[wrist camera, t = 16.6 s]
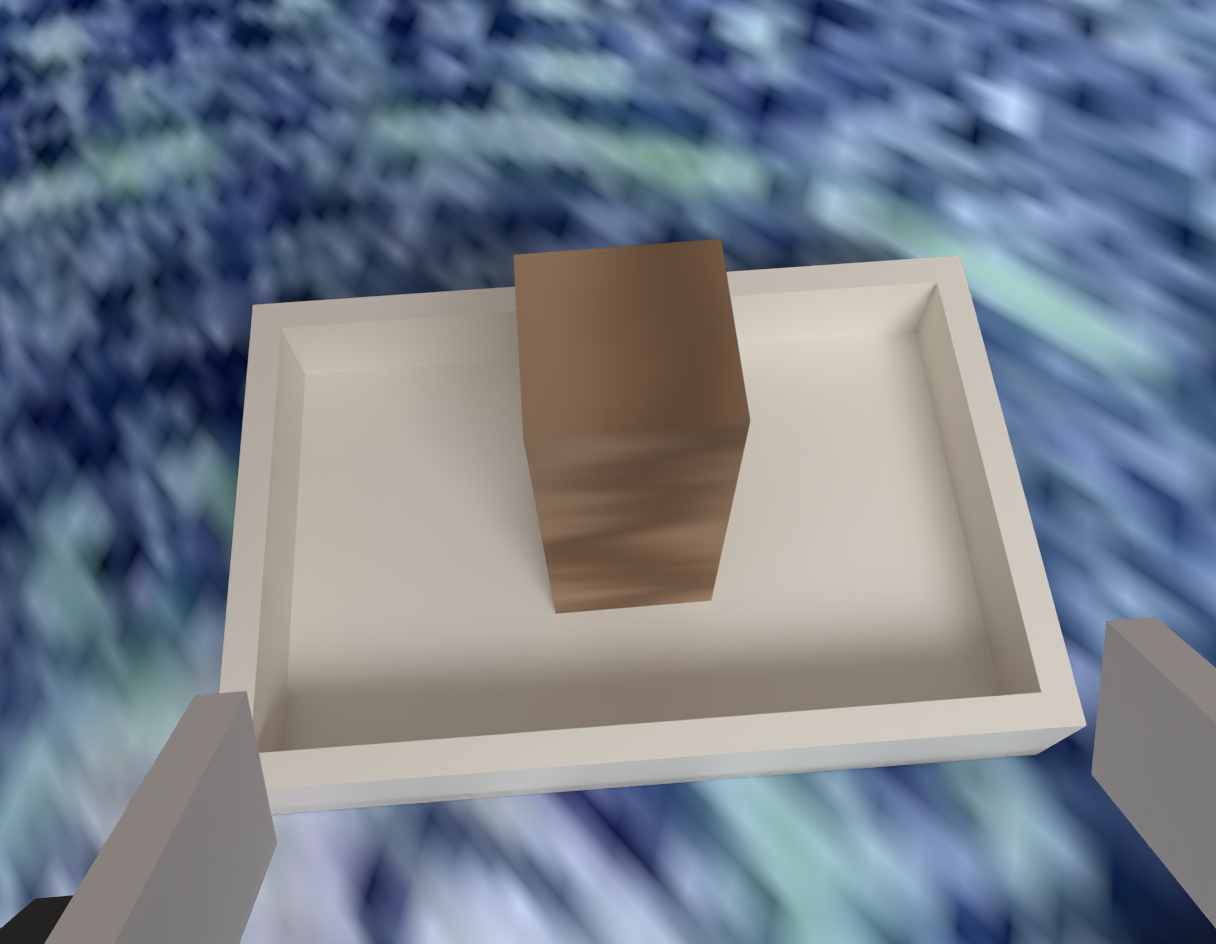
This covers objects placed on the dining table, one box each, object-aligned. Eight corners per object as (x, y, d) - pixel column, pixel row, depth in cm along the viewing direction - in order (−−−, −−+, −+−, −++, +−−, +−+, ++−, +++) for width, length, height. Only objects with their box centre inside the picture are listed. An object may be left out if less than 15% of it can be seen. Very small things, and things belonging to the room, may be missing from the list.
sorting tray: (256, 815, 33) (210, 793, 29) (286, 367, 40) (252, 304, 36) (1036, 754, 33) (1086, 725, 29) (929, 321, 40) (960, 255, 36)
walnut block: (556, 613, 34) (523, 439, 23) (546, 473, 36) (513, 255, 26) (711, 600, 34) (750, 421, 23) (692, 461, 36) (721, 238, 26)
